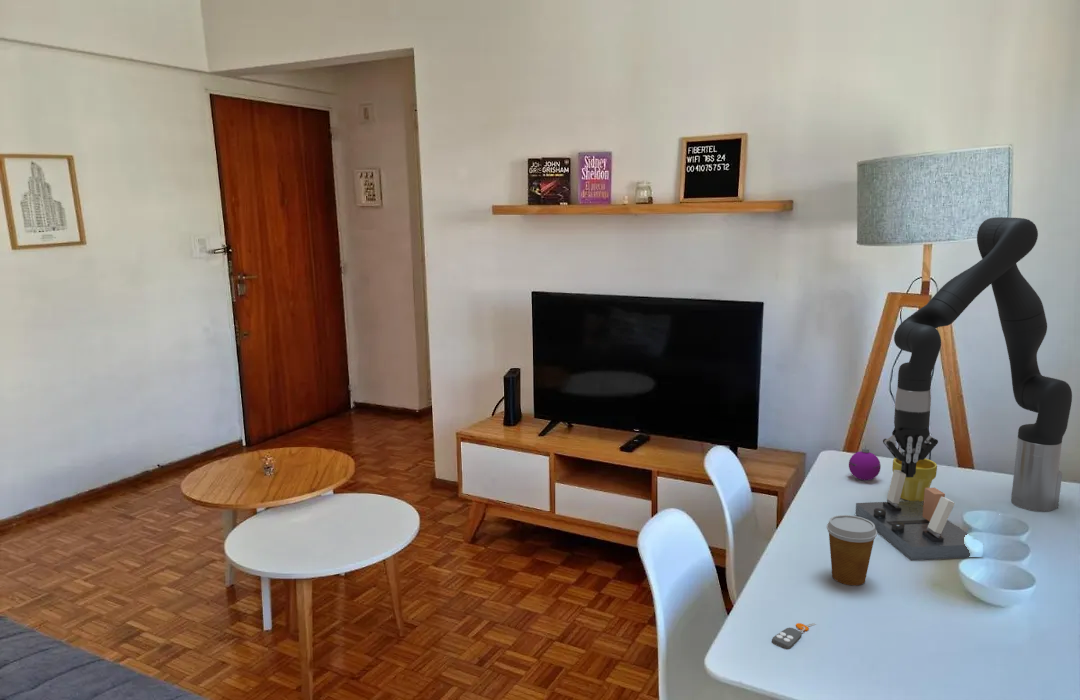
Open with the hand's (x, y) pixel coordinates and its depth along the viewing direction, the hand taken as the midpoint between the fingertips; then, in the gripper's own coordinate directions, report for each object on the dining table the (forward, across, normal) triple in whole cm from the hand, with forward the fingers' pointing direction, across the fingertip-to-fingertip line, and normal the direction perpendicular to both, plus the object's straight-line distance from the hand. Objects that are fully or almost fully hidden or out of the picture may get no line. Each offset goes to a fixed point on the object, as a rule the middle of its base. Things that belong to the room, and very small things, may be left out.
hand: (908, 476), depth 178 cm
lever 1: (+7, +4, 0) cm, 8 cm away
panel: (+11, +2, +8) cm, 14 cm away
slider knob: (+8, -2, +8) cm, 12 cm away
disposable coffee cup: (+11, +28, +27) cm, 40 cm away
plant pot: (+11, -10, -14) cm, 20 cm away
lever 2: (+7, +4, +17) cm, 19 cm away
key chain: (+11, +46, +46) cm, 66 cm away
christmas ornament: (+11, -4, -28) cm, 30 cm away
